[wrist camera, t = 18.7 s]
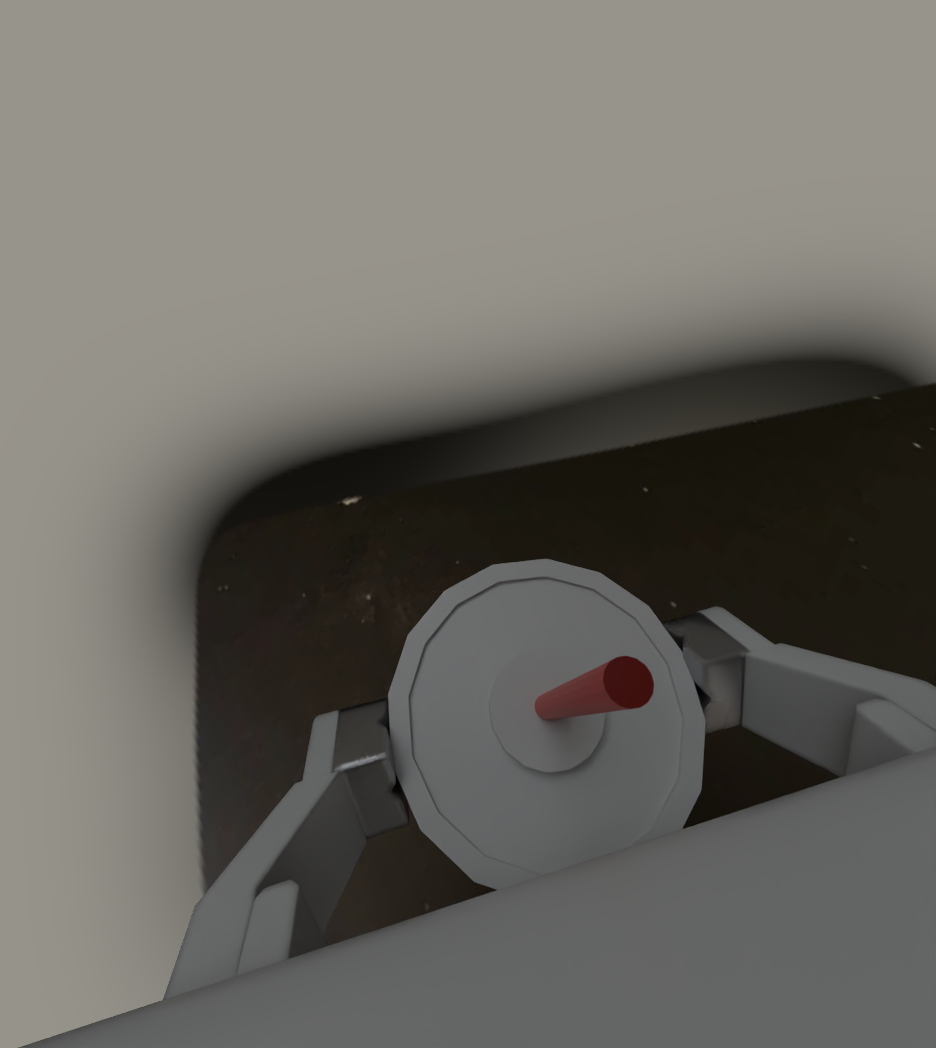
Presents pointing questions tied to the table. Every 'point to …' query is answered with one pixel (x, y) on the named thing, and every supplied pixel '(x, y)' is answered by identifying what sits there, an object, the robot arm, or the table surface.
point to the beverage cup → (543, 722)
